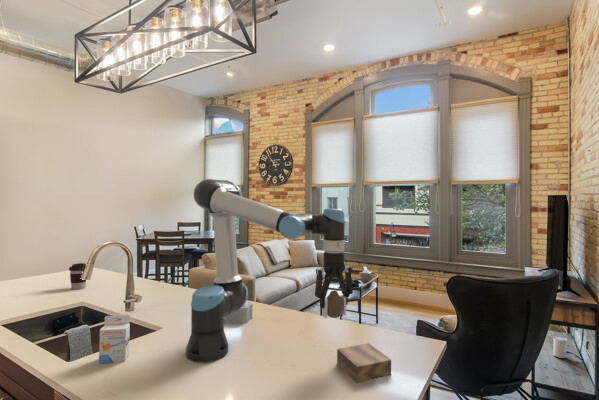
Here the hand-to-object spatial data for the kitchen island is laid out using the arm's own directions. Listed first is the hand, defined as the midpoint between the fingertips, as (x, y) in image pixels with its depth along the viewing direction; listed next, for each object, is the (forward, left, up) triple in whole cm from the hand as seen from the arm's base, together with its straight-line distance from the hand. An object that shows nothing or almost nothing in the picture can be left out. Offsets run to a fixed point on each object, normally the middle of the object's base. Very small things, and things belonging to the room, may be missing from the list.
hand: (334, 315), depth 117 cm
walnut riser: (+6, -10, -16) cm, 19 cm away
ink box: (-73, +26, -16) cm, 79 cm away
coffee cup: (-107, +133, -16) cm, 172 cm away
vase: (0, 0, 0) cm, 0 cm away
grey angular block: (-25, +50, -16) cm, 58 cm away
